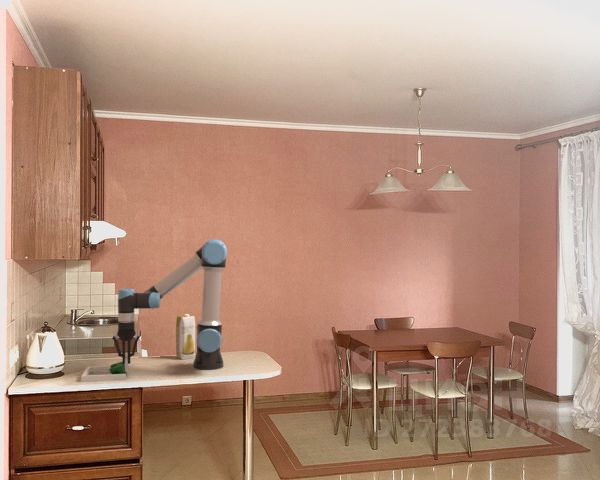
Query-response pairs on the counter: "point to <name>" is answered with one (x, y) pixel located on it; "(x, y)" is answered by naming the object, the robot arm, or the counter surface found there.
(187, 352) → the juice carton
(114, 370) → the green lumpy piece
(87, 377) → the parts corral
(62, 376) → the counter surface
